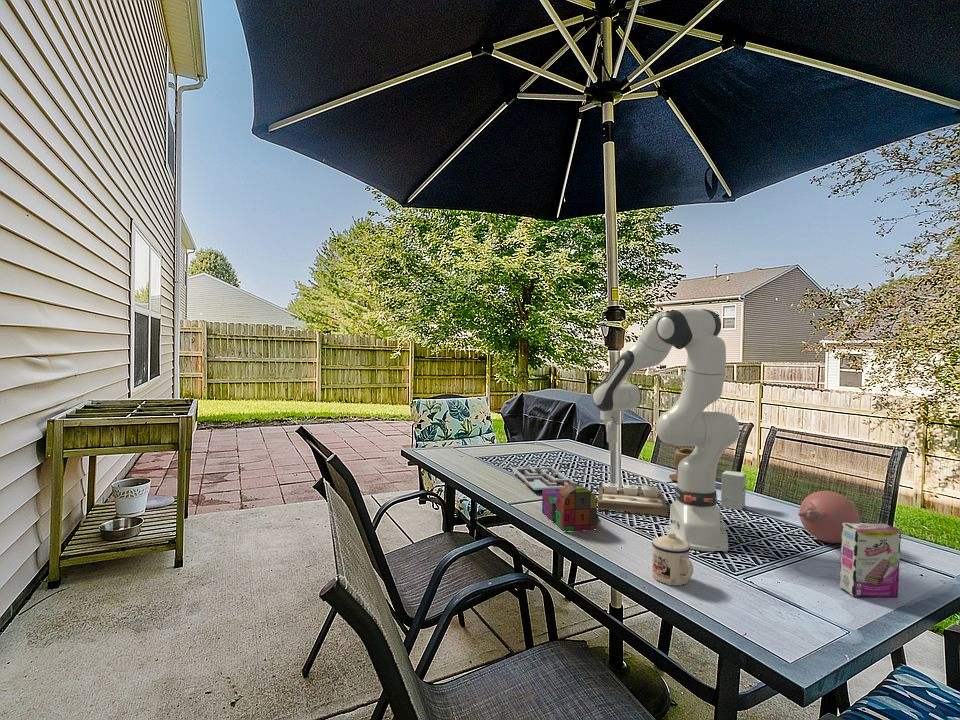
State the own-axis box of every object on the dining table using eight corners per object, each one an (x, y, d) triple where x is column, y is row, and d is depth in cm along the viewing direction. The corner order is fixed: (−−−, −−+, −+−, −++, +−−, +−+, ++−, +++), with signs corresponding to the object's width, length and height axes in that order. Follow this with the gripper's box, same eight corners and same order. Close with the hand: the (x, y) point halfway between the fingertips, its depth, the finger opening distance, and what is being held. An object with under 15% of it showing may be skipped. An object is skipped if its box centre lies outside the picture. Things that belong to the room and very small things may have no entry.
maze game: (511, 474, 236) (512, 468, 236) (551, 473, 239) (551, 466, 239) (534, 495, 201) (534, 488, 201) (580, 493, 205) (580, 486, 205)
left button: (617, 494, 194) (617, 486, 194) (603, 493, 195) (604, 485, 195) (617, 491, 199) (617, 483, 199) (604, 490, 200) (604, 482, 200)
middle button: (637, 496, 192) (637, 488, 192) (623, 495, 193) (624, 487, 193) (636, 493, 197) (636, 485, 197) (623, 492, 198) (623, 484, 198)
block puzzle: (611, 529, 163) (612, 486, 163) (563, 533, 159) (563, 488, 159) (579, 506, 188) (580, 468, 187) (536, 509, 184) (537, 470, 184)
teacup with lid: (643, 573, 130) (644, 528, 130) (672, 568, 134) (673, 525, 133) (676, 594, 119) (677, 545, 119) (706, 589, 122) (707, 541, 122)
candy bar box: (854, 598, 118) (856, 529, 118) (838, 588, 124) (840, 522, 123) (900, 598, 119) (902, 529, 119) (882, 588, 124) (884, 522, 124)
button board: (667, 516, 177) (668, 506, 177) (598, 510, 182) (598, 500, 182) (661, 499, 198) (661, 490, 198) (598, 493, 204) (599, 485, 204)
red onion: (775, 535, 159) (776, 487, 159) (824, 530, 164) (825, 484, 164) (819, 554, 144) (821, 501, 144) (872, 548, 150) (873, 497, 149)
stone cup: (679, 485, 219) (680, 451, 219) (665, 478, 231) (666, 446, 230) (711, 484, 221) (712, 450, 221) (695, 478, 233) (696, 445, 233)
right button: (658, 498, 190) (658, 490, 190) (644, 497, 191) (644, 488, 191) (656, 494, 195) (657, 486, 195) (643, 493, 196) (643, 485, 196)
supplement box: (742, 510, 185) (742, 476, 184) (720, 506, 189) (721, 473, 189) (745, 506, 191) (746, 472, 190) (724, 502, 195) (725, 469, 195)
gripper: (621, 419, 186) (620, 456, 186) (619, 412, 205) (619, 446, 206) (603, 418, 187) (602, 455, 187) (603, 412, 207) (603, 445, 207)
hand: (611, 450), depth 197 cm, fingers closed
